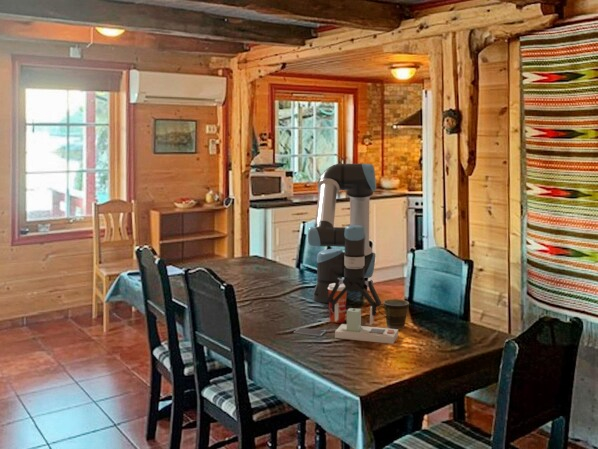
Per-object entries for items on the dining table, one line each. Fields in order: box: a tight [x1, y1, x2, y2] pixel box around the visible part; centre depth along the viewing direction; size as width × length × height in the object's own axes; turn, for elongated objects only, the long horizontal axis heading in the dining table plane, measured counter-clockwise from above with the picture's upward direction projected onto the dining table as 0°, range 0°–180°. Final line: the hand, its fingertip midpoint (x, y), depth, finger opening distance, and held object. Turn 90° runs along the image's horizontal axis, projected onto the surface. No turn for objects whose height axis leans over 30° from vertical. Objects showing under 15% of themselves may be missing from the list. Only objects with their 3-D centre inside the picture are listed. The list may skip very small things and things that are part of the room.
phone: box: [293, 327, 327, 337], centre depth 243 cm, size 6×11×1 cm, turn 67°
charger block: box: [346, 307, 362, 332], centre depth 238 cm, size 4×4×10 cm
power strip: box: [334, 323, 399, 345], centre depth 237 cm, size 10×22×3 cm, turn 71°
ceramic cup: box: [377, 298, 410, 330], centre depth 248 cm, size 13×10×10 cm
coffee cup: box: [328, 283, 348, 324], centre depth 257 cm, size 8×8×15 cm
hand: (353, 322), depth 238 cm, fingers open, 13 cm apart
